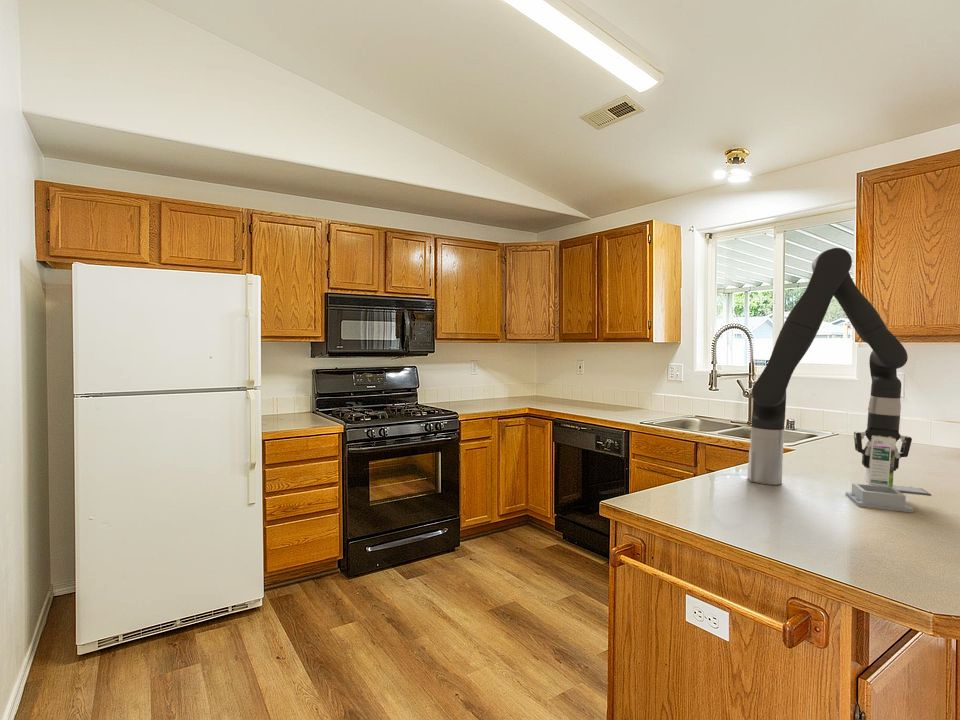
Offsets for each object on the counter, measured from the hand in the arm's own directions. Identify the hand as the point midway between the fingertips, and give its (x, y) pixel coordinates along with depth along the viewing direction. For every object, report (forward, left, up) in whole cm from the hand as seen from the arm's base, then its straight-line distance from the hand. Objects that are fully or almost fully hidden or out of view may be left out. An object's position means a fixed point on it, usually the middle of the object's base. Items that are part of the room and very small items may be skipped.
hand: (879, 468), depth 156 cm
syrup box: (0, 0, -5) cm, 5 cm away
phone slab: (+8, +10, -8) cm, 15 cm away
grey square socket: (-4, -11, -8) cm, 14 cm away
